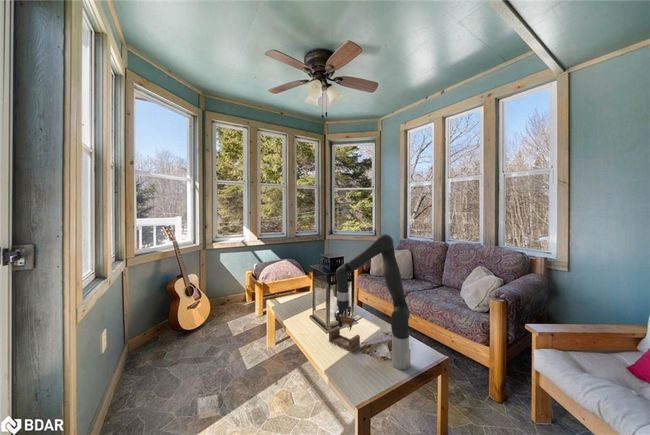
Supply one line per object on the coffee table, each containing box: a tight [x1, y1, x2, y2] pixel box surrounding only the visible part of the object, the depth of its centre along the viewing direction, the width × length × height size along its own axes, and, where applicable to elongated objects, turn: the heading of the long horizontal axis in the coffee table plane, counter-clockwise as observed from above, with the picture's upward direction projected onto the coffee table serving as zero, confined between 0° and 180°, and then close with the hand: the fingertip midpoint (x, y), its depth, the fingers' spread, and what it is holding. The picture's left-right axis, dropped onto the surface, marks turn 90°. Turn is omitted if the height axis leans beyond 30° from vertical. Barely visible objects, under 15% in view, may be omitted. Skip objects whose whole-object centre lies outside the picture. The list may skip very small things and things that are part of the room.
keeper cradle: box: [328, 325, 361, 353], centre depth 165 cm, size 19×9×7 cm, turn 46°
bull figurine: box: [333, 314, 355, 332], centre depth 154 cm, size 4×13×8 cm, turn 60°
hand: (343, 325), depth 154 cm, fingers closed on bull figurine, 5 cm apart
